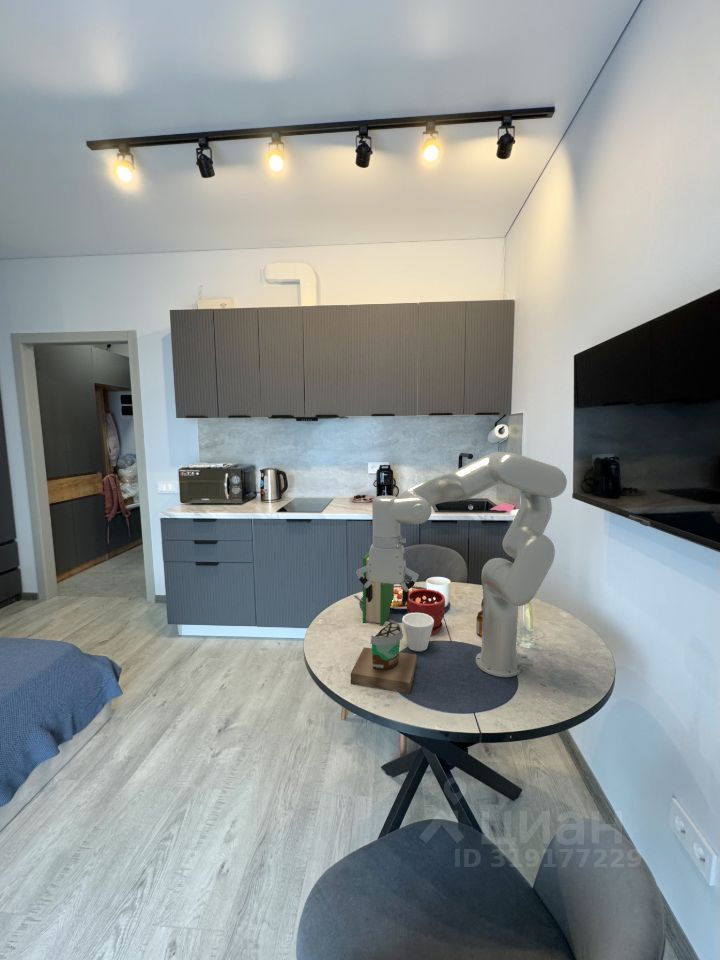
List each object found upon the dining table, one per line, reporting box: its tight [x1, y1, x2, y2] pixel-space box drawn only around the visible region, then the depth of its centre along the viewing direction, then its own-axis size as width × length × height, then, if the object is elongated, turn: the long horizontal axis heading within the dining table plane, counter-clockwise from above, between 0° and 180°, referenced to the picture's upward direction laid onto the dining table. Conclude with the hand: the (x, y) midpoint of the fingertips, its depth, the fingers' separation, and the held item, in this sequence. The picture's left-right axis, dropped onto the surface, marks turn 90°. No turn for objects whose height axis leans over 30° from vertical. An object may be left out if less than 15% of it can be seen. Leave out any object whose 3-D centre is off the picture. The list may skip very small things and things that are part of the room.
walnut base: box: [350, 647, 418, 695], centre depth 114 cm, size 16×14×3 cm
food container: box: [370, 619, 404, 670], centre depth 113 cm, size 12×6×10 cm, turn 149°
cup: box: [401, 613, 434, 653], centre depth 128 cm, size 10×10×9 cm
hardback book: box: [362, 550, 395, 627], centre depth 151 cm, size 18×7×24 cm, turn 163°
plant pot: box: [406, 588, 446, 635], centre depth 140 cm, size 13×13×12 cm
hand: (387, 601), depth 112 cm, fingers open, 9 cm apart
